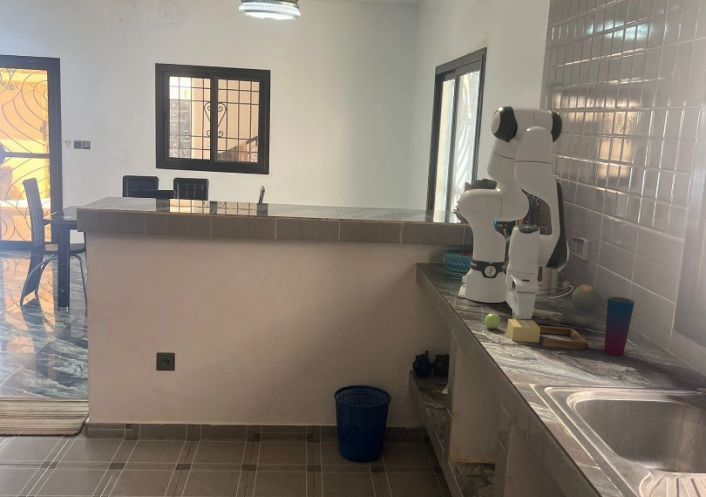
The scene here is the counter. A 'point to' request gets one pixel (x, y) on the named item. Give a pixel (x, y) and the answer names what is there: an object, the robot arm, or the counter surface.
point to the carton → (523, 330)
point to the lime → (492, 321)
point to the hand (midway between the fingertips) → (516, 325)
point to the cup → (617, 324)
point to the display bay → (577, 344)
